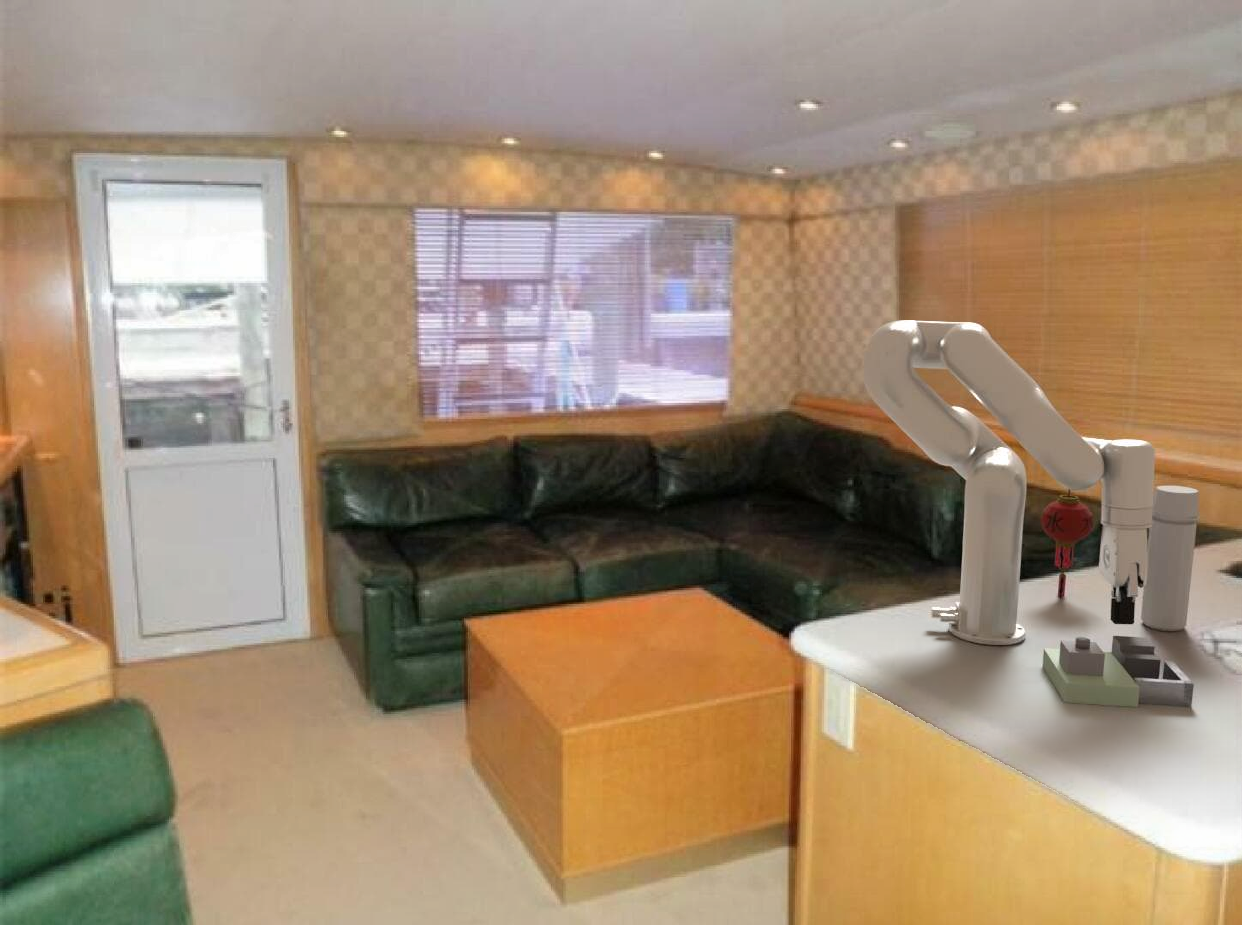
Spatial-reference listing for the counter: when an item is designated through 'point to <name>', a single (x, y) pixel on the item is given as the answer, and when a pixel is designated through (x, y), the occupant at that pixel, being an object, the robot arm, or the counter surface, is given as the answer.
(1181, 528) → the water bottle
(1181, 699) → the side bracket
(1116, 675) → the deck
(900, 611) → the counter surface
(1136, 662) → the gray stepped block
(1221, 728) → the counter surface
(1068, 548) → the lantern
